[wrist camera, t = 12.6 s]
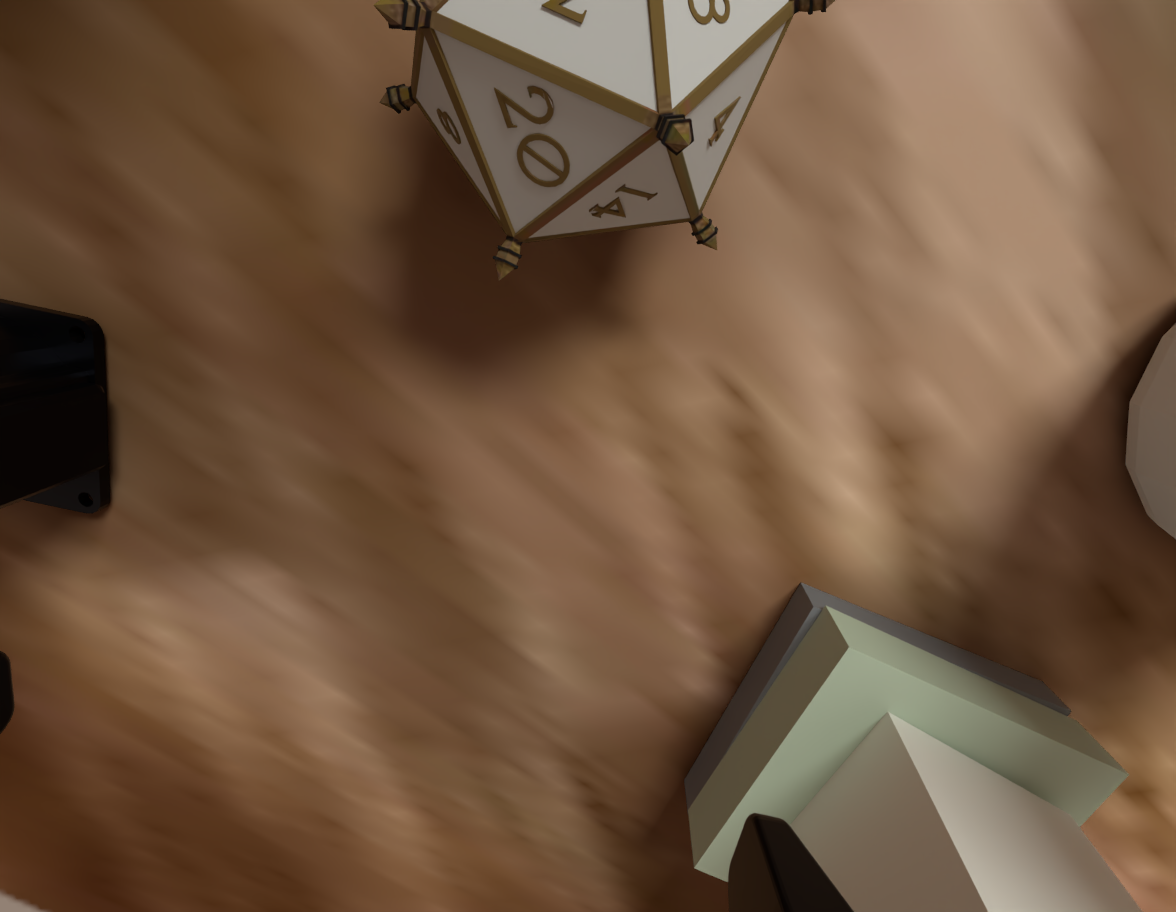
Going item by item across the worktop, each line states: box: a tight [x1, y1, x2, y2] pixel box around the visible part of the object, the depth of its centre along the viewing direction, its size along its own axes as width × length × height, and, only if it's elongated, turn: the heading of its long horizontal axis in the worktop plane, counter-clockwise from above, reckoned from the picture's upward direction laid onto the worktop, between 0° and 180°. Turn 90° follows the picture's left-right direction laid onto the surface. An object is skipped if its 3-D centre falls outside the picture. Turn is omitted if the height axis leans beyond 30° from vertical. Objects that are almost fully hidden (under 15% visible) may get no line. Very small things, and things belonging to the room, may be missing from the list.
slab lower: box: [684, 583, 1071, 811], centre depth 22 cm, size 9×9×2 cm
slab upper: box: [688, 605, 1129, 882], centre depth 20 cm, size 9×9×2 cm
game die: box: [374, 0, 835, 280], centre depth 13 cm, size 9×8×10 cm
